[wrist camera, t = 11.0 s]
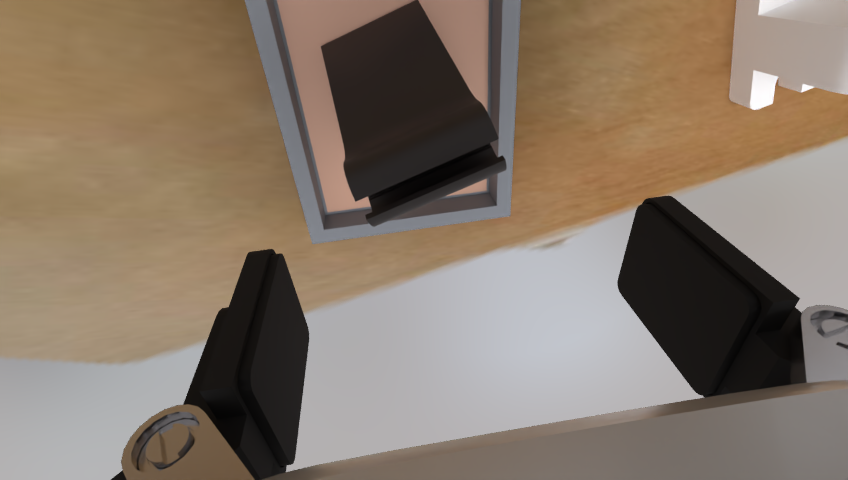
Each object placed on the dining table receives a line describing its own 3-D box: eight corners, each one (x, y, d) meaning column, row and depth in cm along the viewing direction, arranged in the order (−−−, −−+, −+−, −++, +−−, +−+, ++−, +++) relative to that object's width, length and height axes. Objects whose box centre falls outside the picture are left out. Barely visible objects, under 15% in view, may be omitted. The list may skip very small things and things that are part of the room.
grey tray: (506, -81, 23) (525, -85, 20) (498, 196, 32) (510, 216, 30) (242, -58, 22) (228, -60, 19) (315, 221, 31) (312, 244, 29)
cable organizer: (728, 104, 31) (865, 157, 23) (739, -49, 25) (927, -53, 17) (799, 76, 30) (966, 120, 22) (827, -87, 25) (1064, -109, 17)
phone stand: (320, 44, 24) (298, 105, 14) (417, -2, 23) (466, 27, 13) (386, 175, 29) (405, 288, 19) (467, 140, 28) (529, 237, 18)
